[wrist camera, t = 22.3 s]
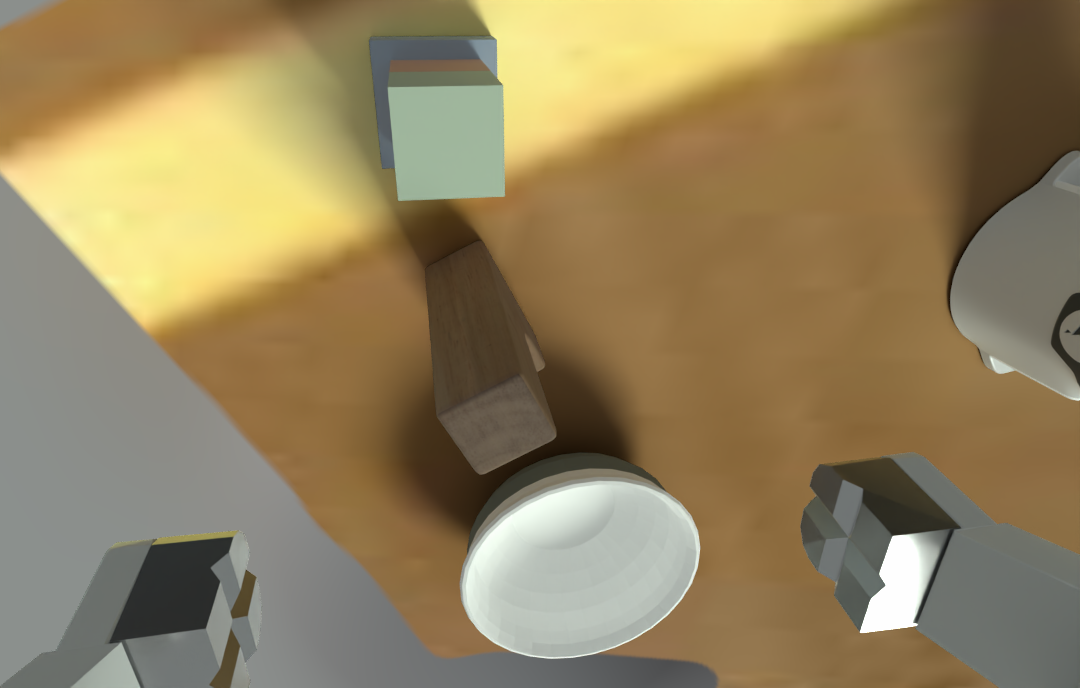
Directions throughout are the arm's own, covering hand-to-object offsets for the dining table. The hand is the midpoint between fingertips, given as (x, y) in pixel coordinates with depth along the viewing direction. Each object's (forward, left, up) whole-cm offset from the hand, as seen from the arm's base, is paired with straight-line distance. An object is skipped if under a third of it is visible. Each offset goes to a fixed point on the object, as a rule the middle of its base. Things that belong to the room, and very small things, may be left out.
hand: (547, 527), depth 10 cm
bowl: (-9, +33, -37) cm, 51 cm away
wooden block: (-2, +14, -37) cm, 40 cm away
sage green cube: (0, 0, -30) cm, 30 cm away
